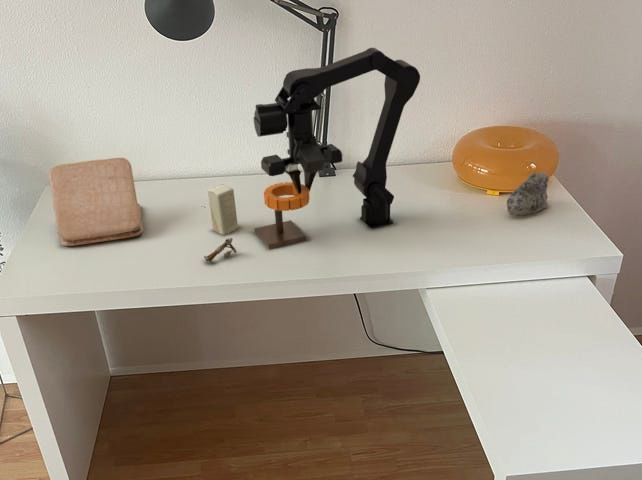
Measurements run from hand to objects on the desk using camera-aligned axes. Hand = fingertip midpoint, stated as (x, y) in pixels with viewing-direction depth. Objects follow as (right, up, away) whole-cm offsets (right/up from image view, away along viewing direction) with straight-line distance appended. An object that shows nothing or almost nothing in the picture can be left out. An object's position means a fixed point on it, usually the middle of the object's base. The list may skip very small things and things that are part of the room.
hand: (303, 193), depth 183 cm
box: (-20, -7, +10) cm, 24 cm away
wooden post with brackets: (-20, -16, -2) cm, 26 cm away
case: (-53, -6, +14) cm, 55 cm away
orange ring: (-4, -2, -1) cm, 5 cm away
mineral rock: (+57, -1, +14) cm, 59 cm away
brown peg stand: (-6, -9, +6) cm, 13 cm away
